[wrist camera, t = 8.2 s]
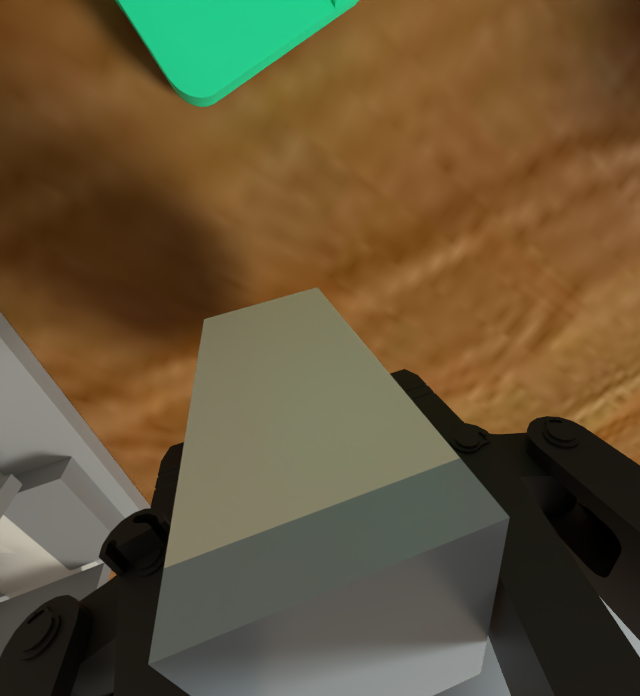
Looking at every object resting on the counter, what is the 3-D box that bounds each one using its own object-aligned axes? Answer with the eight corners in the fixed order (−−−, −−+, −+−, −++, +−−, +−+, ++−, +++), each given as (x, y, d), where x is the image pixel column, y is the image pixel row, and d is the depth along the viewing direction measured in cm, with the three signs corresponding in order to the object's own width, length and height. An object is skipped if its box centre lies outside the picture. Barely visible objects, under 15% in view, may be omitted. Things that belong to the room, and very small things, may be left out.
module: (203, 319, 12) (148, 664, 3) (317, 287, 13) (509, 517, 4) (251, 432, 15) (284, 765, 6) (341, 402, 16) (480, 672, 7)
